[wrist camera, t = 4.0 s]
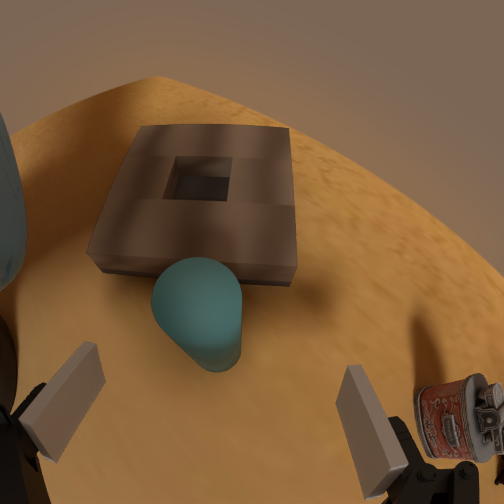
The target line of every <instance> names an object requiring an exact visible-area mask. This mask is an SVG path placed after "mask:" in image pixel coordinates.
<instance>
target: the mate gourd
mask: <svg viewBox="0 0 504 504" xmlns="http://www.w3.org/2000/svg"><path fill="white" fill-rule="evenodd" d="M502 458H503V460H504V455H502ZM499 483H501V484H503V485H504V469H503V470H502V472H501V473H500V475H499V476H498V478H497V479H496V481H495V485H498V484H499Z"/></svg>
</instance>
